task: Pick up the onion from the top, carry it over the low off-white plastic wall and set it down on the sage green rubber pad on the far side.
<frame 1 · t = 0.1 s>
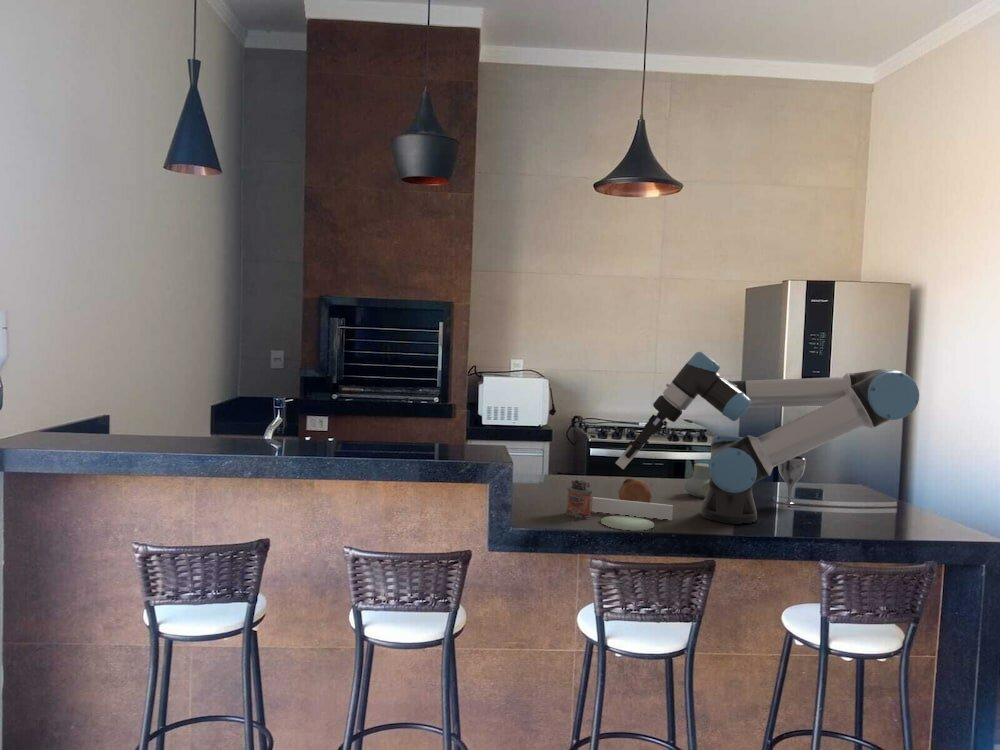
hand: (622, 462, 216), 15 cm above the counter, tool tilted 35°, fingers open, 13 cm apart
pad: (627, 524, 209), on the counter
wine glass: (788, 505, 242), on the counter
lighter: (578, 516, 216), on the counter
onion: (634, 510, 227), on the counter
air freshener: (701, 496, 250), on the counter
low wall: (631, 515, 219), on the counter
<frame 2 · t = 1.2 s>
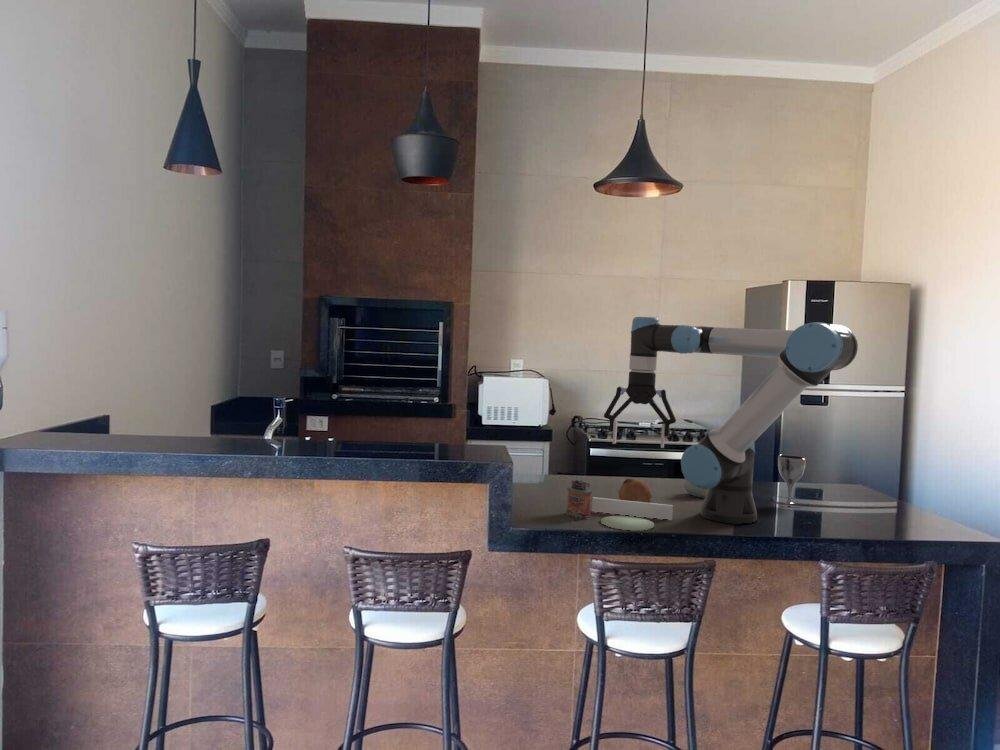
hand: (638, 445, 225), 19 cm above the counter, tool pointing down, fingers open, 13 cm apart
nothing on the counter moved.
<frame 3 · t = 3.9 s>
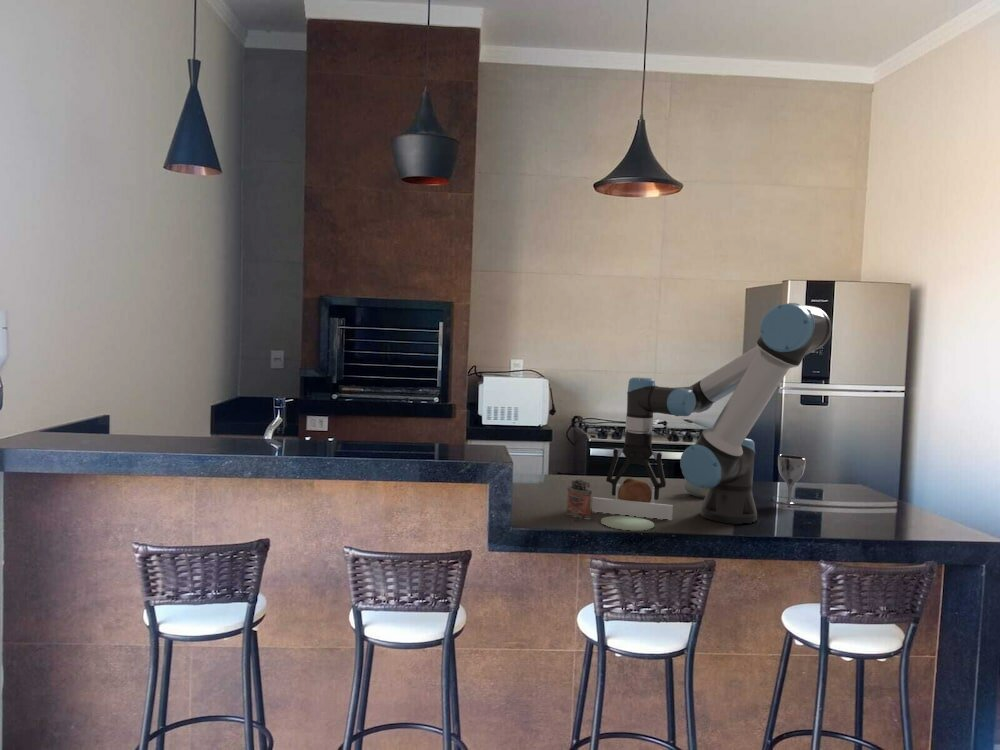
hand: (634, 508, 227), 0 cm above the counter, tool pointing down, fingers closed on onion, 9 cm apart
onion: (634, 510, 227), on the counter, touching gripper
everything else where it was.
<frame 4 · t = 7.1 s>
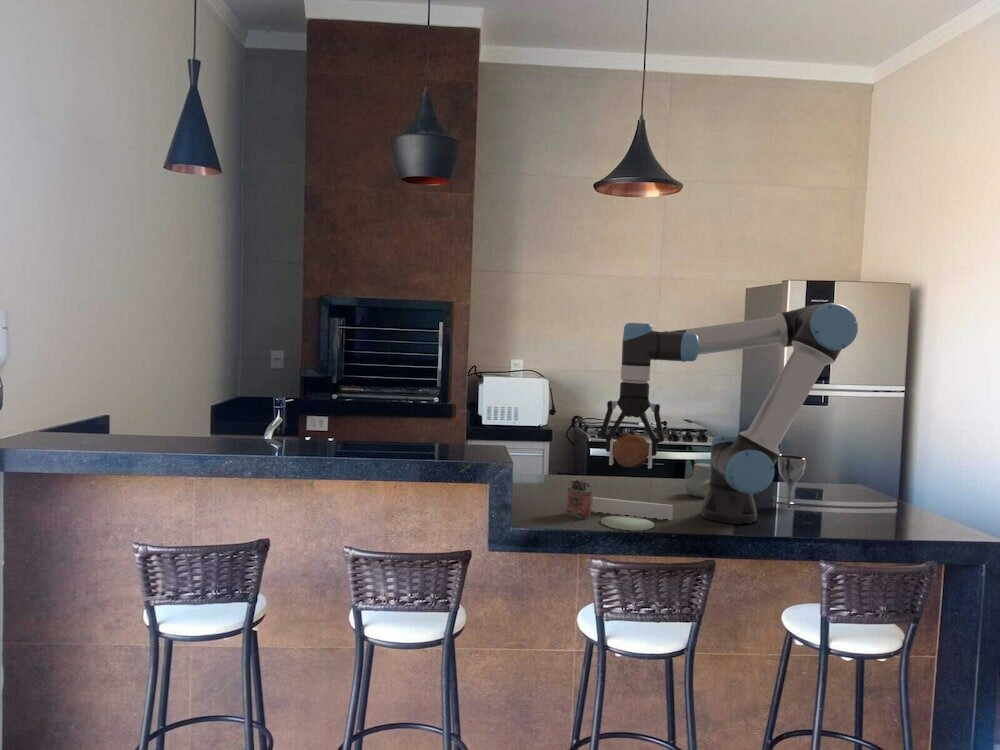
hand: (630, 466, 209), 16 cm above the counter, tool pointing down, fingers closed on onion, 9 cm apart
onion: (630, 467, 209), point 15 cm above the counter, touching gripper
everything else where it was.
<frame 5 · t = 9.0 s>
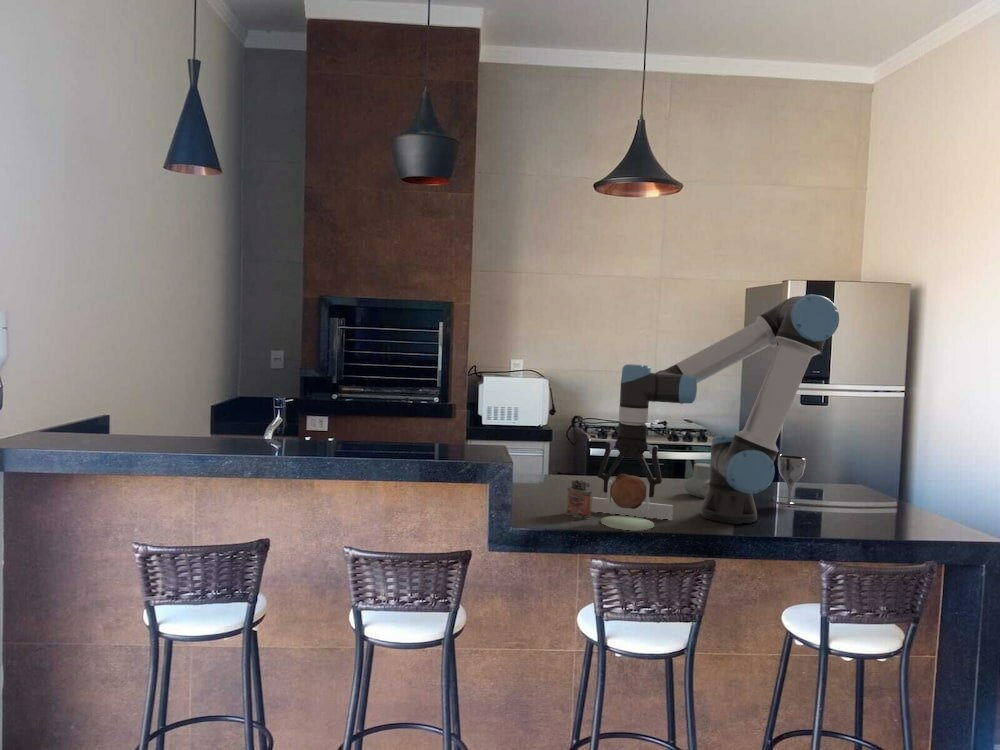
hand: (627, 506, 209), 5 cm above the counter, tool pointing down, fingers closed on onion, 9 cm apart
onion: (627, 508, 209), point 4 cm above the counter, touching gripper
everything else where it was.
when the fingers open (2 cm above the counter, at t = 10.5 s): onion drops 1 cm, resting on pad.
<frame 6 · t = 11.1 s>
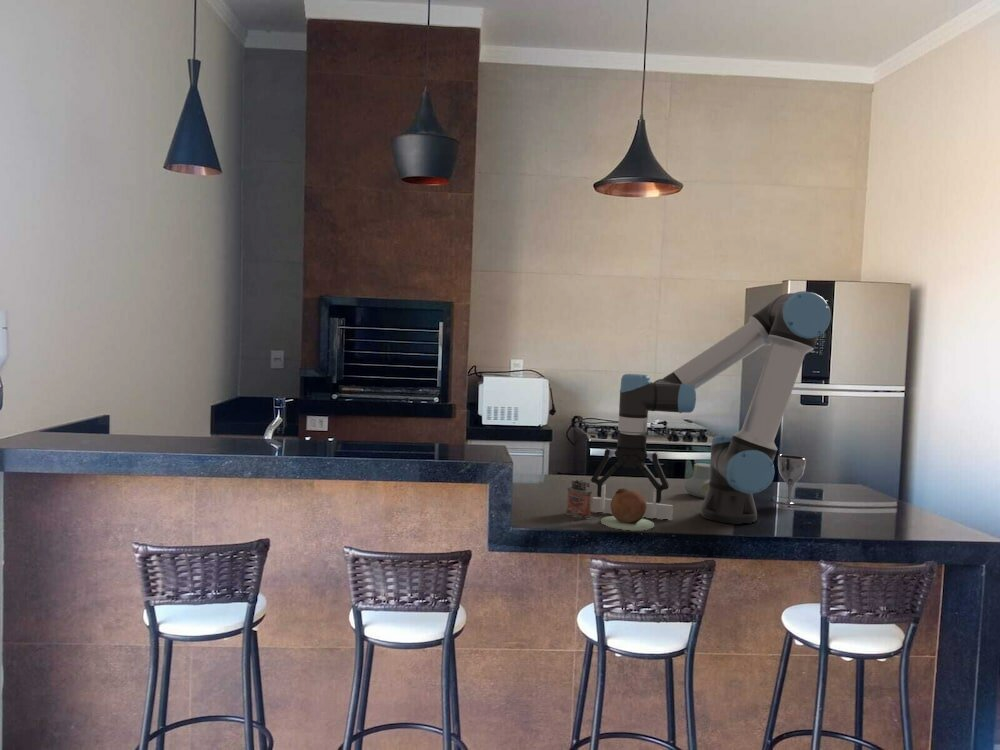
hand: (628, 512, 209), 3 cm above the counter, tool pointing down, fingers open, 13 cm apart
onion: (627, 522, 209), resting on pad
everything else where it was.
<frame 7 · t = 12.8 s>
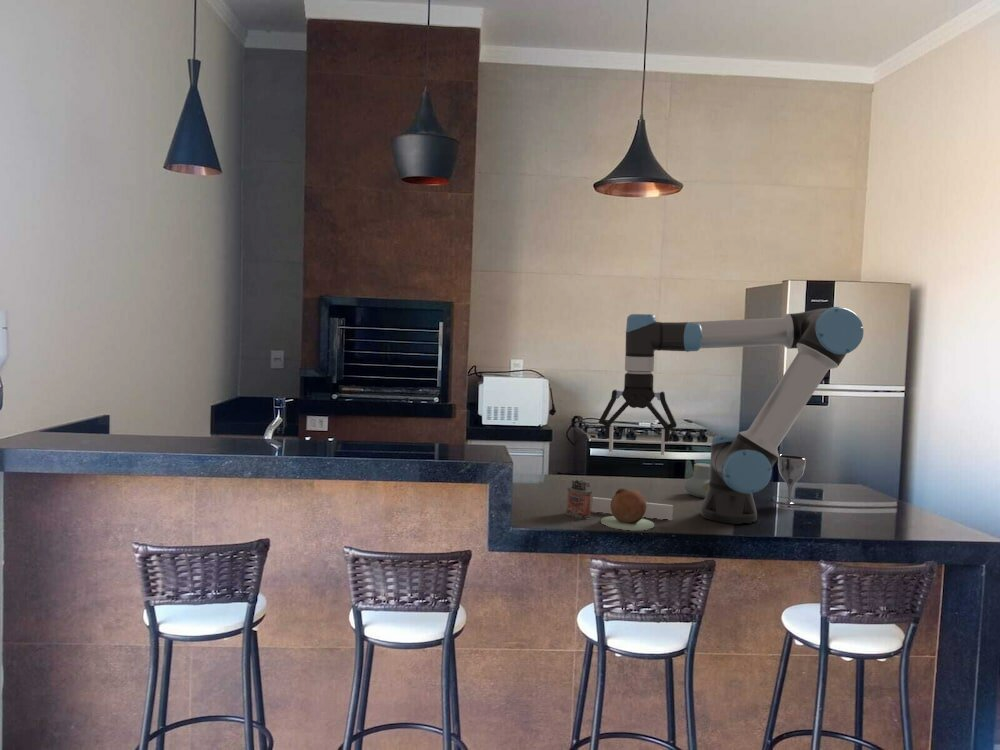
hand: (636, 452, 209), 19 cm above the counter, tool pointing down, fingers open, 13 cm apart
nothing on the counter moved.
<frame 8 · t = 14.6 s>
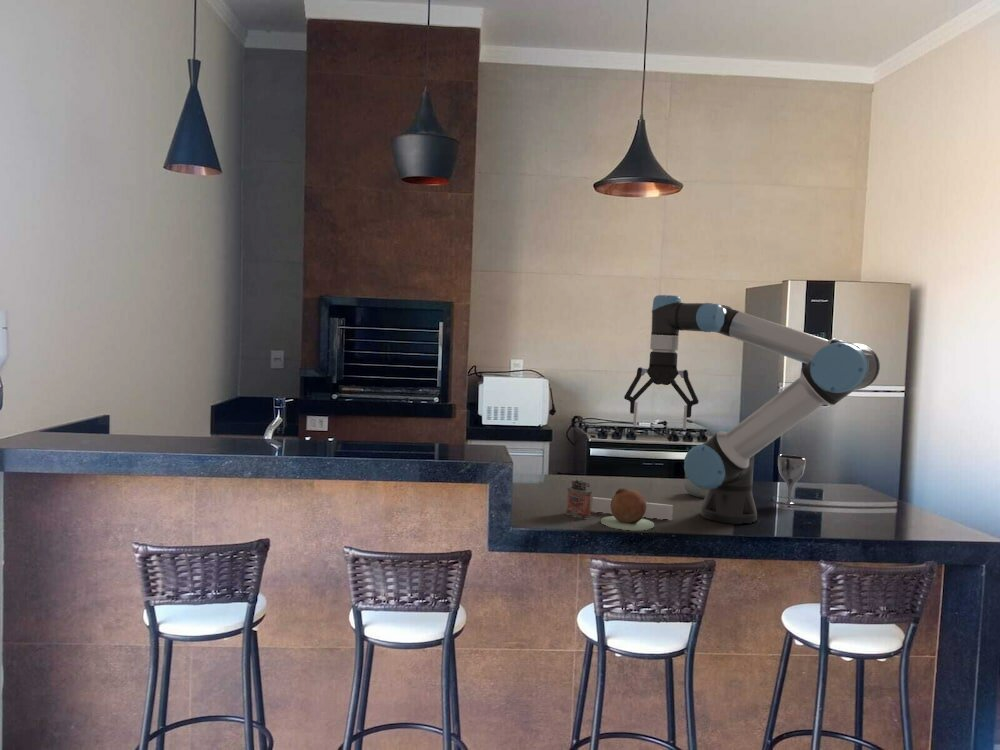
hand: (659, 427, 220), 25 cm above the counter, tool pointing down, fingers open, 13 cm apart
nothing on the counter moved.
at the end: onion inside the target area on the pad (0.1 cm from its centre), point 0.3 cm above the pad's base; the gripper is holding nothing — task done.
